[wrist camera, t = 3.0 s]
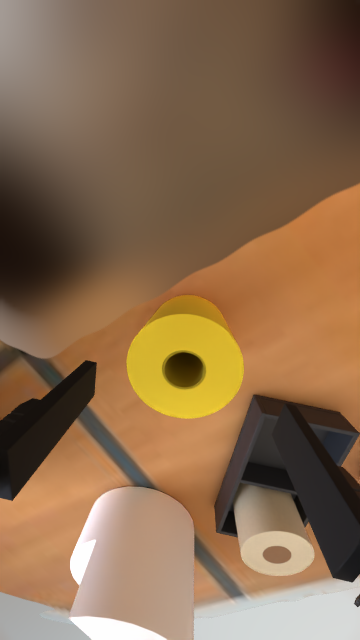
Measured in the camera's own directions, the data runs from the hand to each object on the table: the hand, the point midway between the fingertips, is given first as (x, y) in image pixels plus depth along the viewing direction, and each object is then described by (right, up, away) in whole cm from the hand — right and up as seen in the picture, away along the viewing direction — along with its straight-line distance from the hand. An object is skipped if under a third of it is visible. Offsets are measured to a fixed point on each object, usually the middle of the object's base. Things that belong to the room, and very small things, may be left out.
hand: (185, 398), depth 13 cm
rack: (+14, -17, +17) cm, 28 cm away
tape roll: (+1, +4, +12) cm, 13 cm away
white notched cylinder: (-8, -34, +24) cm, 42 cm away
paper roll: (+13, -23, +19) cm, 32 cm away
